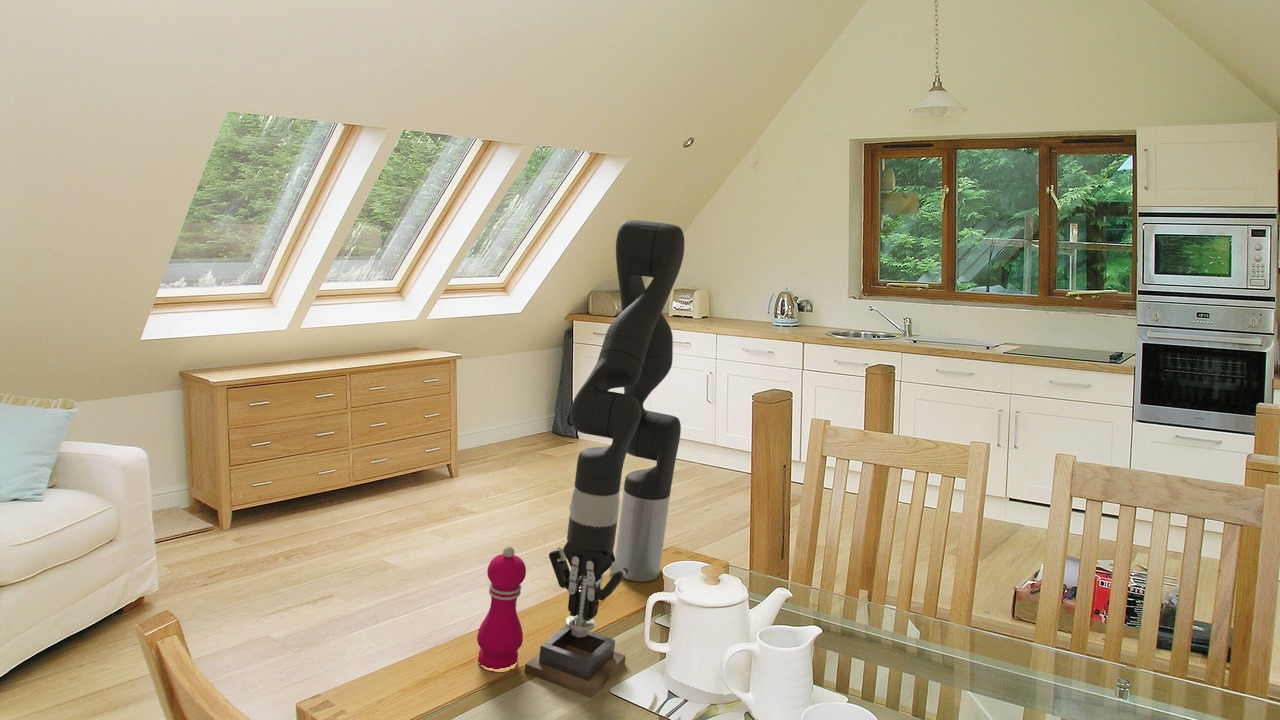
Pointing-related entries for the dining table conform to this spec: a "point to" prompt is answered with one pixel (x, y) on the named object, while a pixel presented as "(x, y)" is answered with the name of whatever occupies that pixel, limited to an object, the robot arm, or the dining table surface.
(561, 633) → the socket
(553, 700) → the dining table surface
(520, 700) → the dining table surface
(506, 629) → the pepper mill
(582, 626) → the screw
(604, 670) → the walnut board
